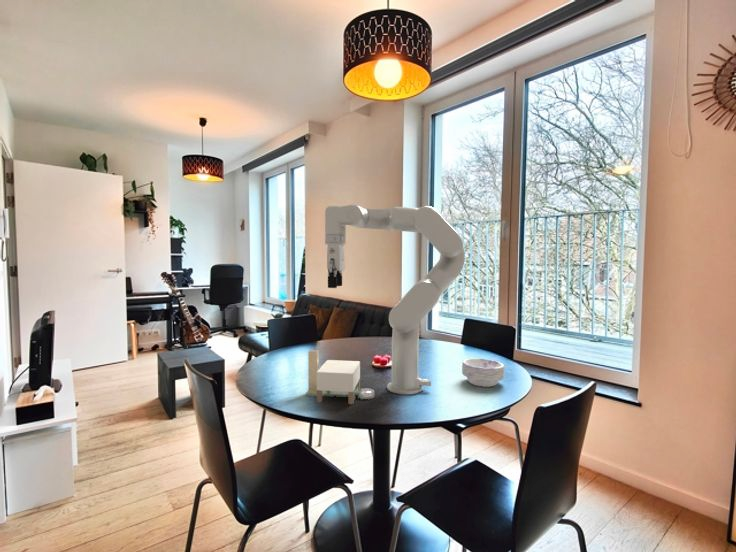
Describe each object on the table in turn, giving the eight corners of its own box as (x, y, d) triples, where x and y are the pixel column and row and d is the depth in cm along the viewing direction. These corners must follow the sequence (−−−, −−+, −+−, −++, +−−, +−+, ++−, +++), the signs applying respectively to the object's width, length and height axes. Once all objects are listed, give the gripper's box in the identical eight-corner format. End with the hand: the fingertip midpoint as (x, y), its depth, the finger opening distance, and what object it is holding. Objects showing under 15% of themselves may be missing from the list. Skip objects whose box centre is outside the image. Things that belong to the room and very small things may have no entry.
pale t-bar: (305, 397, 131) (305, 353, 130) (310, 390, 138) (310, 348, 137) (354, 399, 128) (355, 355, 128) (358, 392, 135) (358, 350, 135)
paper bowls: (504, 379, 151) (504, 359, 151) (503, 392, 137) (504, 370, 136) (464, 375, 156) (464, 355, 156) (459, 387, 142) (460, 365, 142)
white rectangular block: (359, 388, 139) (360, 361, 139) (353, 404, 124) (353, 373, 124) (327, 387, 141) (327, 359, 140) (316, 402, 126) (316, 371, 125)
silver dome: (374, 394, 135) (374, 388, 134) (373, 400, 129) (374, 394, 128) (357, 393, 135) (357, 388, 135) (355, 400, 129) (356, 394, 129)
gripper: (340, 239, 133) (340, 288, 134) (349, 241, 150) (349, 285, 151) (319, 239, 134) (319, 288, 135) (330, 241, 151) (330, 285, 152)
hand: (335, 286), depth 143 cm, fingers open, 9 cm apart
